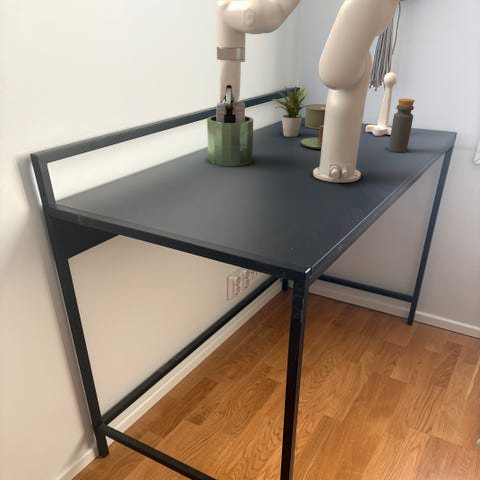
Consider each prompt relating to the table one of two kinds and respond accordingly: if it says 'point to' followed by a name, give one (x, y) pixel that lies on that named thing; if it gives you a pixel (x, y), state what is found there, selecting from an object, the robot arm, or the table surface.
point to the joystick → (384, 108)
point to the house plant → (291, 112)
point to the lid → (314, 140)
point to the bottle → (401, 126)
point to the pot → (230, 142)
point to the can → (315, 115)
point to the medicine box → (238, 111)
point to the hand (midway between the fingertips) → (230, 127)
